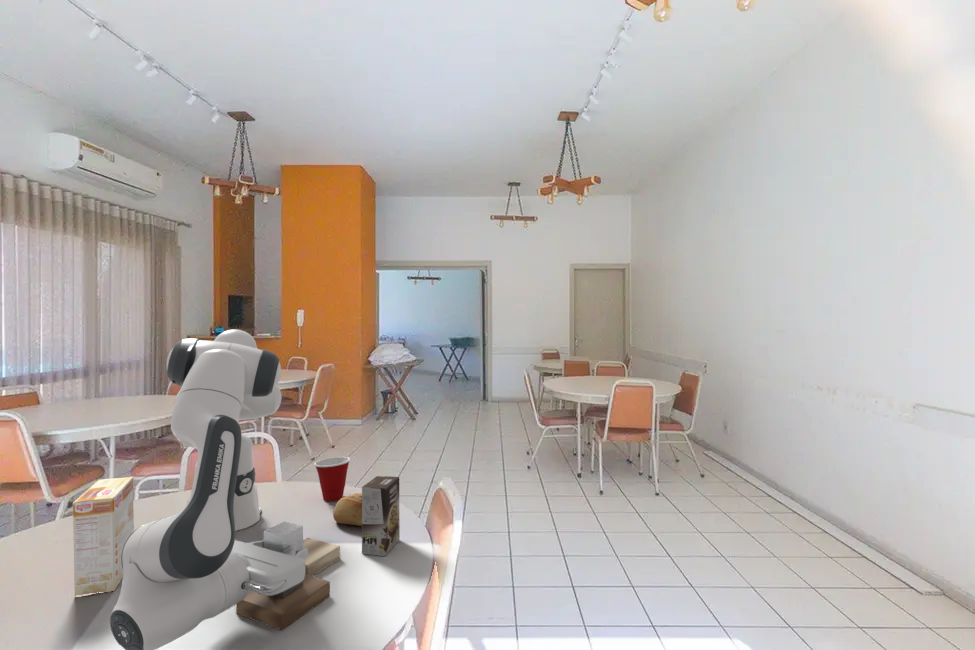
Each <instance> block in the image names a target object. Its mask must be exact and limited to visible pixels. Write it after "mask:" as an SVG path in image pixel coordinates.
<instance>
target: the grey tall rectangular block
mask: <svg viewBox="0 0 975 650" xmlns="http://www.w3.org/2000/svg"><path fill="white" fill-rule="evenodd" d="M303 527H304V526H303V525H300V524H297V523H292V522H288V521H282V522H280V523H278V524H276V525H274V526H272V527H270V528H267V529H265V530H264V531H263V540H264V548H266V549H269V550H273V551H276V552H280V553H283V554H287V555H290V556H292V555H295V556H296V550H298V549H300V548H303V540H304V528H303ZM302 586H303V581H302V582H300V583H299V584H297V585H295V586H293V587H291V588H289V589H287V590H285V591H283V592H281V593H279V594H276V595H272V596H275V597H278V598H281V599H284V598H286V597H287V596H289V595H290V594H292V593H293V592H295V591H296V590H298V589H299V588H301V587H302Z"/></svg>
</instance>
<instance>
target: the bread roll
mask: <svg viewBox="0 0 975 650" xmlns="http://www.w3.org/2000/svg"><path fill="white" fill-rule="evenodd" d="M332 514H333V515H332V517H333V519H334V521H335V522H336V523H338V524H343V525H351V526H359V527H362V492H361V493H360V492H359V493H350V494H349V495H345V496H343V497H342V498H341V499H340V500H338V501H336V505H335V507H334V510H333V513H332Z"/></svg>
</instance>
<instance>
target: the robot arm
mask: <svg viewBox="0 0 975 650" xmlns="http://www.w3.org/2000/svg"><path fill="white" fill-rule="evenodd" d="M165 367H166V373H167V378H168V379H169V380H170V382H171V383H172V384H175V385H177V386H179V387H181V388H180V390H179V391H178V392H177V395H176V396H175V398H174V403H173V405H174V406H173V408H172V413H171V419H170V430H171V432H172V434H173V436H174V437H175V439H177V440H178V441H179V443H180V444H183V445H185V446H187V447H190V448H192V449H196V450H197V454H198V455H197V456H198V458H197V462H196V467H195V471H194V478H193V483H192V486H191V490H190V491H191V492H190V497H189V498H188V499H187V501H186V504H185V505H184V507H183V508H182V509H180V511H179V512H177V513H176V514H174V515H170V516H166V517H163V518H162V517H161V518H158V519H156V520H153V521H150V522H147V523H144V524H142V525H141V526H139V527H138V528H136V529H134V532H133V533H132V534H131V535H130V536H129V538H128V539H127V541H126V543H125V545H124V547H123V550H122V555H121V562H122V567H123V578H122V580H121V587H120V592H119V595H118V599H117V602H116V604H115V605H114V607H113V609H112V611H111V613H110V618H109V625H110V630H111V633H112V635H113V638H114V639H115V641H116V642H117V644H118V645H119V646H121V648H123V649H124V650H158V649H159V648H162V647H164V646H165V645H168V644H170V643H172V642H173V641H175V640H178V639H179V638H181V637H183V636H184V635H186V634H188V633H190V632H191V631H193V630H195V629H196V628H197V627H198V626H199V624H201V623H202V622H203V621H205V620H207V619H208V620H209V619H211V618H215V617H217V616H218V615H221V614H222V613H224V612H225V611H227V610H228V609H230V608H232V607H234V606H235V605H236V604H237V603H239V602H241V601H242V600H243V599H244V598H245V597H246V596H247V594H248V591H253V592H256V593H257V594H263V595H266V596H272V595H276V594H279V593H281V592H283V591H285V590H287V589H289V588H291V587H293V586H295V585H297V584H299V583H300V582H302V581H303V580H304V577H305V559H306V558H307V557H308V549H305V548H300V549H298V550H296V556H295V555H292V556H290V555H287V554H283V553H280V552H276V551H273V550H269V549H266V548H264V539H262V540H258V541H251V542H248V543H247V542H243V541H241V540H236V532H237V531H240V530H244V529H246V528H249V527H251V526H253V525H255V524H256V523H258V522H259V521H260V519H261V515H260V514H261V513H262V511H263V510H262V507H261V506H260V503H259V496H258V487H257V485H256V483H255V481H256V469H255V467H254V443H253V441H252V439H251V438H250V437H249V436H248V435H246V434H243V433H242V428H241V427H240V423H239V422H240V421H245V420H246V421H247V420H255V419H256V420H257V419H260V418H264V417H267V416H271V415H274V414H275V413H276V412H277V411H278V409H279V408H280V406H281V403H282V392H281V389H280V387H279V385H278V383H279V382H280V379H281V375H282V366H281V362H280V358H279V357H278V356H277V355H276V353H274V352H272V351H269V350H267V349H265V348H264V349H259V348H258V346H257V342H256V340H255V339H254V336H252V335H251V334H250V333H249V332H247V331H244V330H242V329H233V328H232V329H227V330H224V331H222V332H220V334H218V335H217V336H216V337H215V338H214V340H204V339H203V340H202V339H200V338H198V337H195V338H194V337H190V338H189V337H188V338H183V339H181V340H179V341H177V342H175V344H174V346H173V347H172V349H171V350H170V352H169V354H168V355H167V358H166V366H165Z"/></svg>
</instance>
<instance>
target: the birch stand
mask: <svg viewBox="0 0 975 650" xmlns="http://www.w3.org/2000/svg"><path fill="white" fill-rule="evenodd" d="M303 548H305V549H308V557H307V558H306V559H305V574H306V575H309V576H313V577H314V576H315V575H317V574H318V573H320V572H321V571H324V569H326V568H327V567H330V565H332V564H334V563H335V562H337V561H338V560H340V559H341V545H338V544H334V543H330V542H326V541H323V540H318V539H314V538H310V537H307V538H305V539H303Z"/></svg>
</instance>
